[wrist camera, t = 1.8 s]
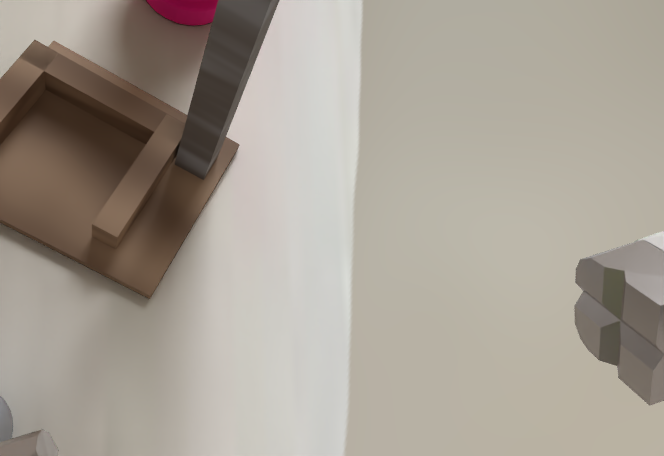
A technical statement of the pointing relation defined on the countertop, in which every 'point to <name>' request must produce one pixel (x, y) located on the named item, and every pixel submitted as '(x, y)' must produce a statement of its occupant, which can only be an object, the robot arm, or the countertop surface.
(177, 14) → the pepper mill
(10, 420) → the grey tapered cup
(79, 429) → the countertop surface
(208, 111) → the hanger stand
